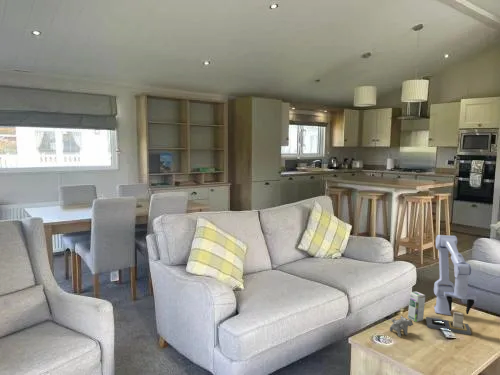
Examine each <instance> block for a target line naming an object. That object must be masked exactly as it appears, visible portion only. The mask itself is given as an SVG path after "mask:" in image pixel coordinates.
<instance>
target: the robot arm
mask: <svg viewBox="0 0 500 375" xmlns="http://www.w3.org/2000/svg"><path fill="white" fill-rule="evenodd" d="M457 245H458V237H457V236H456V235H447V234H446V235H445V234H437V235H436V236H435V248H436V250H438V256H439V257H438V264H439V265H438V268H439V270H438V272H439V278H438V279H437V280H436V281H435V282H434V285H433V293H434V295H435V296H436V299H435V300H436V303H435V305H434V306H433V307H434V312H435V313H436V314H439V315H440V314H441V315H445V316H452V313H451V312H452V310H453V308H452V303H453V298H454V299H460V300H466V307H465V308H466V309H465V313H466V315H468V314H469V313H470V310H471V308H472V307H473V306H474V304H475V302H477V301H478V300H477V296H475V295H470V294H468V284H469V276H471V274H472V267H471V264H470V263H468V262H466V260H465V258H464V256H463V254H462V253H461V252H459V250H458V246H457ZM449 254H450V259H449ZM449 260H451V262H452V264H453V266H454V267H453V271H454V277H455V278H454V282H452V281H451V280H450V266H449V265H450V261H449Z"/></svg>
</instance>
